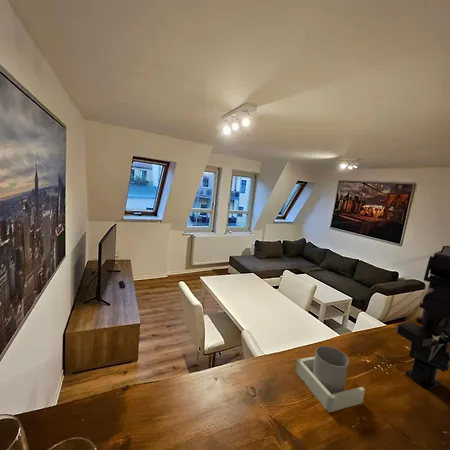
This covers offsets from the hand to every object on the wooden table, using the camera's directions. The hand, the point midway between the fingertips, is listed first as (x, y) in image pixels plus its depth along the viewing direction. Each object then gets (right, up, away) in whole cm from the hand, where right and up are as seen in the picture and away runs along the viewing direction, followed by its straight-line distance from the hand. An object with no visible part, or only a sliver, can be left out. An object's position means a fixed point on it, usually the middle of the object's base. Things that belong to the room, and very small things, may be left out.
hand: (426, 360), depth 64 cm
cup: (-24, -11, +5) cm, 27 cm away
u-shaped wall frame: (-23, -10, +6) cm, 26 cm away
